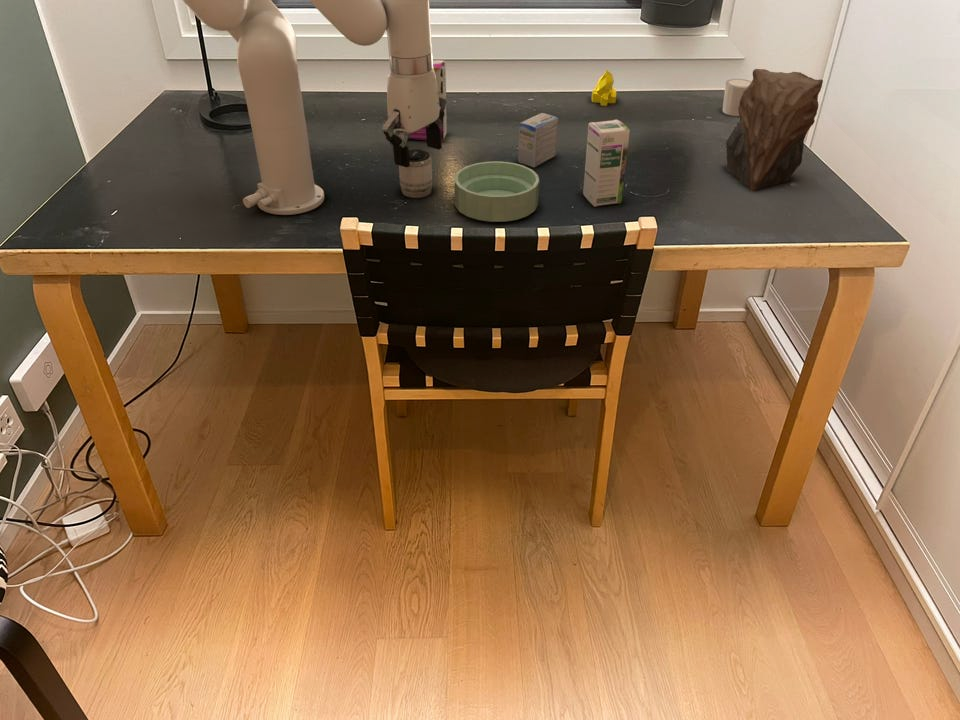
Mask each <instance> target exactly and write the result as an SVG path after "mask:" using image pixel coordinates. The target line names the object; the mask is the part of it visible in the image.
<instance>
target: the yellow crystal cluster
mask: <svg viewBox="0 0 960 720" xmlns="http://www.w3.org/2000/svg"><path fill="white" fill-rule="evenodd" d="M614 83H615V80H614V77H613V73H611V72H610V71H609V70H607V69H606V70H605V72H604V73H603V75H602V76H600V77H599V79H598V81H597V82H596V84H595V86H594V89H593V90H592V91H591V103H595V104H597V103H598V104H600V106H601V107H607V106H608V104H616V102H617V88H613V85H614Z"/></svg>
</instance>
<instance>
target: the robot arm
mask: <svg viewBox="0 0 960 720" xmlns="http://www.w3.org/2000/svg"><path fill="white" fill-rule="evenodd" d="M308 1H309V2H310V3H311V4H312V5H313V7H315V9H317V11H318V12H319V13H320V14H321V15H322V16H323V17H324V18H325V19H326V20H327V21H328V22H329V23H330V24H331V25H332V26H333V27H334V28H335V29H336V30H337V31H338V32H339V33H340V34H341V35H343V36H344V37H345V38H346V39H347V40H348V41H349V42H351V43H353V44H355V45H357V46H363V47H367V46H372V45H374V44H376V43H379V41H380V40H381V39H382V38H383V36H384V34H385V32H386V36H387V37H386V38H387V47H388V59H389V68H390V73H389V74H388V78H387V85H386V109H387V110H386V111H387V112H386V113H387V120H386V121H385V122H384V124H383V125H382V127H381V130H382V132H383V134H384V136H385V139H386V140H387V141H388V142H389V144H390V145H391V146H392V149H393V151H392V152H393V159H394V160H393V161H394V164H395V165H396V166H398V167H399V166H403V167H409V166H410V160H409V150H410V149H409V146H408V145H407V142H408V140H409V139H408V137H409V134H410V133H413V132H415V131H417V130H419V129H421V128H423V127H425V126H426V139H427V140H426V147H428V148H431V149H435V150H438V151H440V150H442V148H443V146H442V145H443V144H442V143H443V142H442V141H441V129H440V128H441V127H442V125H443V123H442V120H443V117H444V115H445V112H444V110H445V106H446V107H447V99H446V100H445V99H443V98H440V97H439V95H438V87H437V81H436V76H435V71H434V68H433V60H434V59H433V46H432V45H433V43H432V30H431V12H430V0H308ZM182 2H183V3H184V4H185V5H186V6H187V7H188V8H189V10H190V11H191V12H192V13H193V14H194V15H195V16H196V18H197V19H198V20H199V21H200V22H201V23H202V24H203V25H205V26H206V27H208V28H210V29H213V30H215V31H220V32H227V33H228V34H229V35H230V36H231V37H232V38H233V40H234V41H236V42H237V48H236V62H237V68H238V73H239V78H240V82H241V85H242V89H243V93H244V98H245V102H246V106H247V112H248V117H249V123H250V127H251V132H252V137H253V143H254V148H255V154H256V160H257V164H258V171H259V175H260V179H261V180H260V181H261V182H258V183H257V184H256V186H257V190H255V192H254V193H253V194H249V195H247V196H245V197H244V198H243V199H242V204H243V205H244V206H245V208H247V209H250V208H252V207H255V206H256V205H257V207H258V208H259V209H260V210H261V211H263V212H265V213H268V214H272V215H279V216H292V215H293V216H294V215H298V214H304V213H307V212H310V211H313V210H315V209H316V208H318V207H319V206H321V205H322V204H323V203H324V201H325V192H324V189H323V188H322V187H320V186H319V185H317V184H316V183H315V179H314V178H315V177H314V172H313V165H312V164H313V163H312V157H311V150H310V142H309V136H308V128H307V121H306V116H305V115H306V114H305V109H304V108H305V107H304V102H303V95H302V89H301V83H300V77H299V76H300V75H299V67H298V65H299V64H298V42H297V41H298V40H297V35H296V32H295V29H294V28H293V25H292V24H291V23H290V21H289V20H288V18H287V17H286V16H285V15H284V14H283V12H282V11H281V10H280V9H279V8H278V7H277V5H276V4H275V3H274V2H273V1H272V0H182ZM427 125H429V126H427ZM402 126H403V127H404V128H405V129H403V128H401V127H402ZM399 133H403V134H402V137H401V139H400V138H399V137H398V136H399Z"/></svg>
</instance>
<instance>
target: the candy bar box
mask: <svg viewBox="0 0 960 720" xmlns="http://www.w3.org/2000/svg"><path fill="white" fill-rule="evenodd" d="M432 60H433V68H434V71H435V76H436V81H437V87H438V95H439V97H440V98H443V99H445V100H446V101H447V64H446V60H437V59H432ZM444 112H445V115H444V117H443V120H442V123H443V125H442V127H441V128H440V129H441V142H444V141H445V138H446V136H447V133H448V131H447V130H448V125H447V105H446V106H445V110H444ZM427 126H429V125H427ZM401 128H403V129H405V128H404V127H403V126H402V127H401ZM402 134H403V133H399V136H398V137H399V138H400V139H401V137H402ZM407 140H410V141H411V140H412V141H427V139H426V126H425V127H423V128H421V129H419V130H417V131H415V132H413V133H410V134H409V137H408V139H407Z"/></svg>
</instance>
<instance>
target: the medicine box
mask: <svg viewBox="0 0 960 720" xmlns="http://www.w3.org/2000/svg"><path fill="white" fill-rule="evenodd" d="M558 128H559V118H558V117H557V116H554V115H551V114H548V113H544V112H541V113H538V114H537V115H534V116H531V117H530V118H528V119H525V120H523V121H522V122H519V130H518V150H517V151H518V154H517V162H518V164H520V165H523V166H526V167H527V166H528V167H530V168H536V167H538V166H539V165H542V164H544V163H545V162H547V161H549V160H551V159H552V158H555V157H556V154H557V144H558V143H557V141H558Z"/></svg>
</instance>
